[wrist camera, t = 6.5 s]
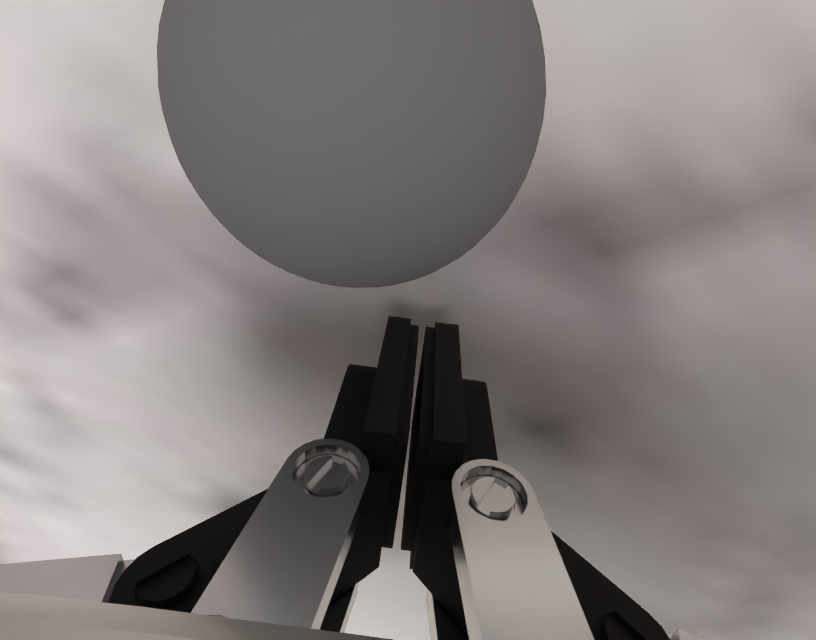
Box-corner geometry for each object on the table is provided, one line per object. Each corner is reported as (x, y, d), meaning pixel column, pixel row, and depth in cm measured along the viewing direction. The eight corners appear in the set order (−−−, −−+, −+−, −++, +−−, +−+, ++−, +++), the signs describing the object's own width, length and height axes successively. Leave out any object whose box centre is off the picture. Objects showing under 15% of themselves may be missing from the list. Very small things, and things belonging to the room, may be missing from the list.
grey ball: (542, -265, 2) (563, -200, 6) (-96, -58, 4) (224, -106, 8) (529, 376, 6) (546, 178, 10) (205, 346, 8) (323, 186, 12)
